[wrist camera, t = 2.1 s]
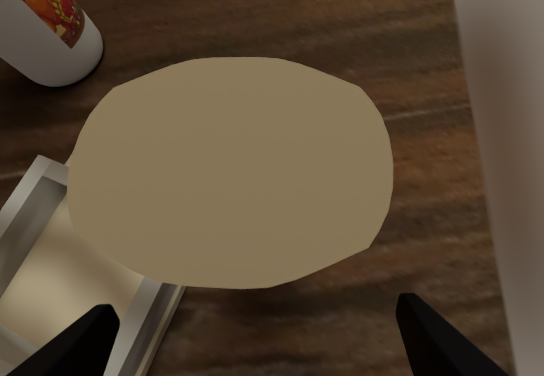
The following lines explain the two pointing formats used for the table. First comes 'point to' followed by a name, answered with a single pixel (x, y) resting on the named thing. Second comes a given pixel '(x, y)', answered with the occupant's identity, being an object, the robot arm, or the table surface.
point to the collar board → (69, 279)
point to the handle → (231, 173)
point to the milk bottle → (49, 40)
